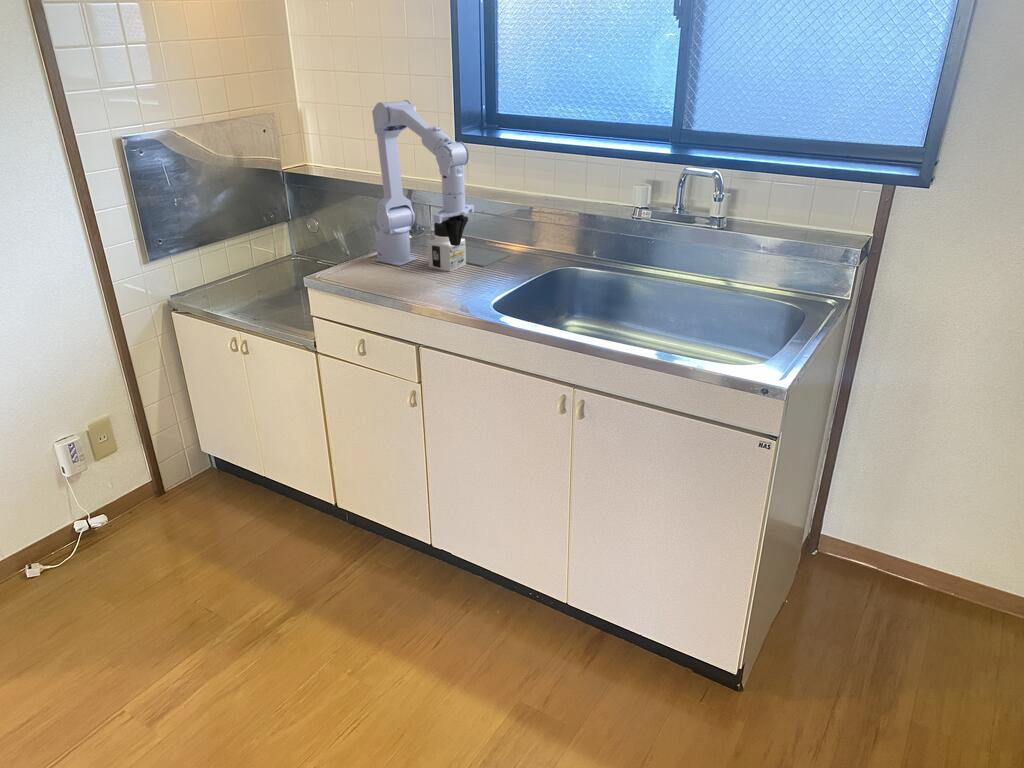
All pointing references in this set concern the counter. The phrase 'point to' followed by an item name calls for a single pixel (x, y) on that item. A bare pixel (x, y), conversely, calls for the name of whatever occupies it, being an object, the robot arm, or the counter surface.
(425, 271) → the counter surface
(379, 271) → the counter surface
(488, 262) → the mat
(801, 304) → the counter surface
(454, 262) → the container
